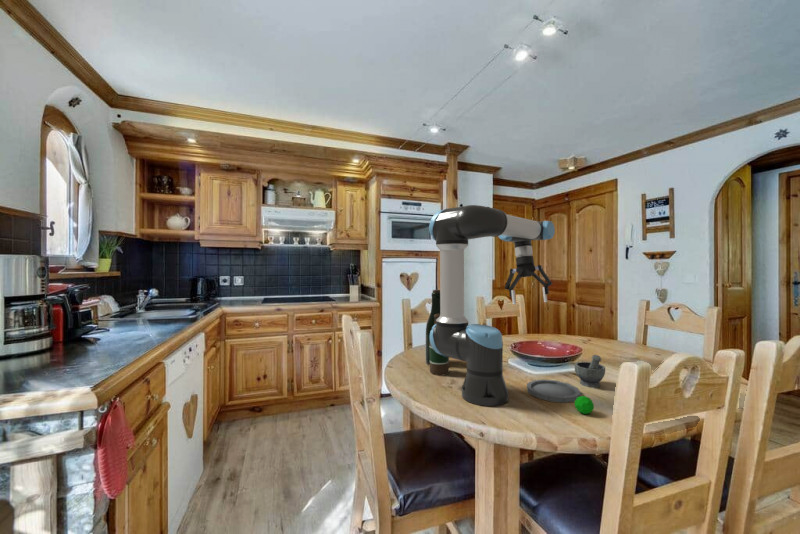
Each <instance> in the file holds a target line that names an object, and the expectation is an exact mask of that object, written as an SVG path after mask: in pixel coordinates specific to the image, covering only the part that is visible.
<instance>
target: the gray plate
mask: <svg viewBox="0 0 800 534" xmlns="http://www.w3.org/2000/svg"><path fill="white" fill-rule="evenodd" d="M526 388H527V389H526V391H527V393H528V394H530V395H532V396H533V397H535V398H538V399H541V400H544V401H547V402H555V403H572V402H574V403H575V400H576V399H577V397H580V396H582V392H581V390H580V389H579V388H578V387H576V386H574V385H573V384H570V383H568V382H564V381H560V380H555V379H554V380H553V379H534V380H531V381H529V382H527V383H526Z"/></svg>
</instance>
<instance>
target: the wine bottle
mask: <svg viewBox="0 0 800 534" xmlns="http://www.w3.org/2000/svg"><path fill="white" fill-rule="evenodd" d="M435 314H440V289H432V292H431V307H430V313H429V315H428V316H429V317H428V319H427V322H426V327H425V351H424V352H425V353H424V354H425V355H424V356H425V363H426V364H427V365H428V366H430V354H429V344H430V331H431V330H432V327H433V326H434V322H435V317H434V315H435Z"/></svg>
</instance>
